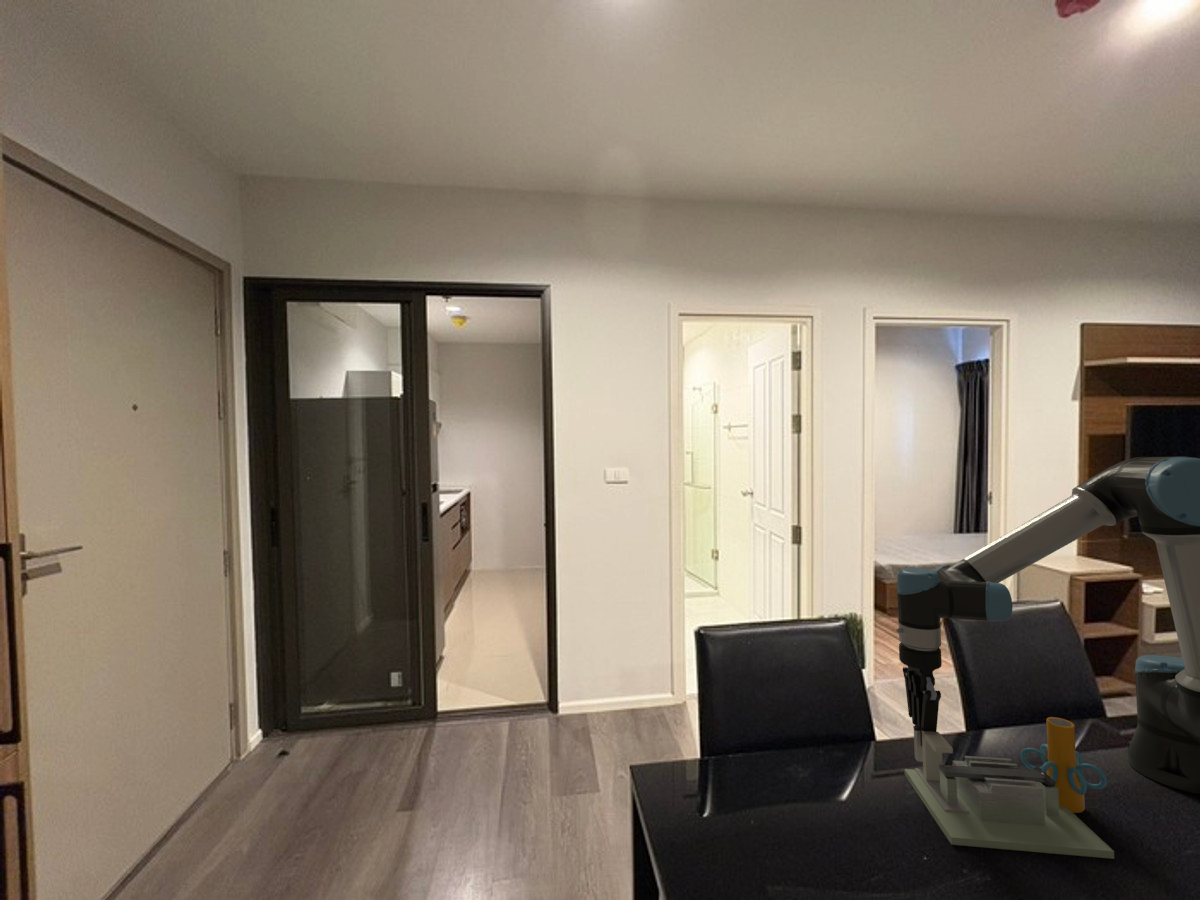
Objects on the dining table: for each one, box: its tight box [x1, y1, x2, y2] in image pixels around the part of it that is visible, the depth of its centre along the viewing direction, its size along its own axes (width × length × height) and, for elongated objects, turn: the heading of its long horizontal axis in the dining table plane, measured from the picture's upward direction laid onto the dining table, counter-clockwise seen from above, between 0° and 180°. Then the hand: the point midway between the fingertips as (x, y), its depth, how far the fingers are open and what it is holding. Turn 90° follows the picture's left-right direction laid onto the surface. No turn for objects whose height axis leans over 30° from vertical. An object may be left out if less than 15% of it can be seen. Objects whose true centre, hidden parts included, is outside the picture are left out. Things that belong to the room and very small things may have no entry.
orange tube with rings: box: [1019, 716, 1108, 814], centre depth 100 cm, size 12×10×15 cm
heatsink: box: [940, 755, 1059, 826], centre depth 98 cm, size 18×10×6 cm, turn 81°
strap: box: [939, 764, 1056, 787], centre depth 98 cm, size 18×4×1 cm, turn 81°
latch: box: [922, 731, 954, 781], centre depth 104 cm, size 3×6×9 cm, turn 171°
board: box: [904, 767, 1115, 859], centre depth 98 cm, size 24×20×2 cm
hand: (923, 759), depth 110 cm, fingers closed
